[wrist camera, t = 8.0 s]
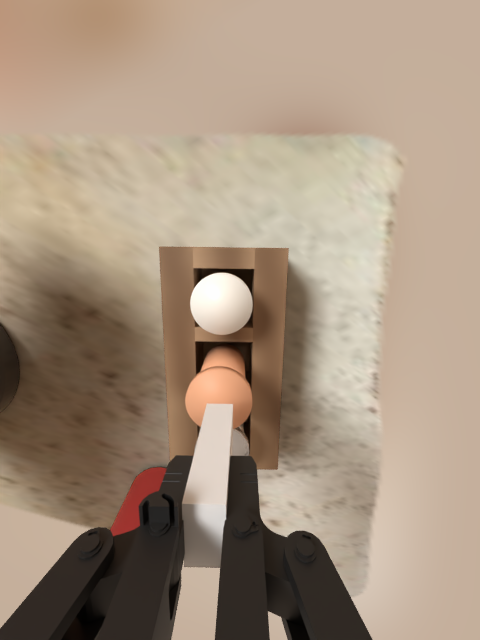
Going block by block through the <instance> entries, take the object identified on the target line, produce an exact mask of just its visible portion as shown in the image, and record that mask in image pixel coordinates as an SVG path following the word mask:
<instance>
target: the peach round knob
mask: <svg viewBox="0 0 480 640" xmlns="http://www.w3.org/2000/svg"><path fill="white" fill-rule="evenodd" d="M207 404H233V429H235V428H237V427H239V426H240V425H241V424H243V423H244V422H245V421H246V419H247V418H248V416H249V415H250V412H251V409H252V392H251V388H250V385H249V383H248V381H247V380H246V378H245V360H244V357H243V355H242V353H241V352H240V350H238V349H237V348H236V347H234V346H232V345H228V344H221V345H217V346H215V347H213V348H212V349H211V350H210V351H209V352H208V353H207V355H206V357H205V360H204V363H203V366H202V369H201V372H199V373H198V374H197V375H196V376H195V377H194V378H193V380H192V381H191V383H190V385H189V387H188V390H187V393H186V397H185V405H186V409H187V412H188V414H189V416H190V418H191V419H192V420H193V421H194V422H195V423H196V424H197V425H198V426H200V427H201V425H202V421H203V417H204V413H205V409H206V405H207Z"/></svg>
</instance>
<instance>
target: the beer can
mask: <svg viewBox="0 0 480 640" xmlns="http://www.w3.org/2000/svg"><path fill="white" fill-rule="evenodd" d="M166 469H167V468H163V467H155V468H150V469H147V470H144V471H143V472H142V473H140V474H139V475H138V476H137V477H136V478H135V480H134V482H133V483H132V486H131V488H130V490H129V492H128V494H127V496H126V498H125V500H124V502H123V504H122V506H121V509H120V511H119V513H118V515H117V517H116V519H115V521H114V523H113V525H112V527H111V529H110V531H111V532H112V535H113V536H115V535H118V534H122V533H125V532H128V531H131V530H134V529H135V528H137V527H139V526H140V519H139V507H138V506H139V505H140V503H141V501H142V500H143V499H144V498H145V497H147V496H148V495H149V494H151V493H154V492H156V491H159V489H160V486H161V483H162V481H163V478H164V475H165V472H166Z"/></svg>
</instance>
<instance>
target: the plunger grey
mask: <svg viewBox="0 0 480 640" xmlns="http://www.w3.org/2000/svg"><path fill="white" fill-rule="evenodd" d="M198 437H199V435H198ZM198 437H197V440H196V445H197V441H198ZM196 445H195V449H196ZM195 449H194V453H195ZM232 456H249V442H248V438H247V436H246V434H245V433H244V423H243V424H241V425H240V426H239V427H237V428H235V429H233V448H232Z"/></svg>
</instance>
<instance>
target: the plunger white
mask: <svg viewBox="0 0 480 640" xmlns="http://www.w3.org/2000/svg"><path fill="white" fill-rule="evenodd" d="M190 307H191V312H192V315H193V317H194V319H195V321H196V322H197V323H198V325H199V326H200V327H202V328H203V329H204V330H206V331H208V332H210V333H213V334H217V335H227V334H231V333H234V332H236V331H238V330H239V329H241V328H242V327H243V326H244V325H245V324H246V323H247V321H248V320H249V318H250V316H251V313H252V308H253V301H252V296H251V293H250V290H249V288H248V287H247V285H246V284H245V283H244V282H243V281H242V280H241V279H240V278H238V277H237V276H235V275H232V274H229V273H214V274H211V275H209V276H207V277H205V278H204V279H202V280H201V281H200V282H199V283H198V284H197V285H196V287H195V288H194V290H193V292H192V295H191V300H190Z"/></svg>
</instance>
